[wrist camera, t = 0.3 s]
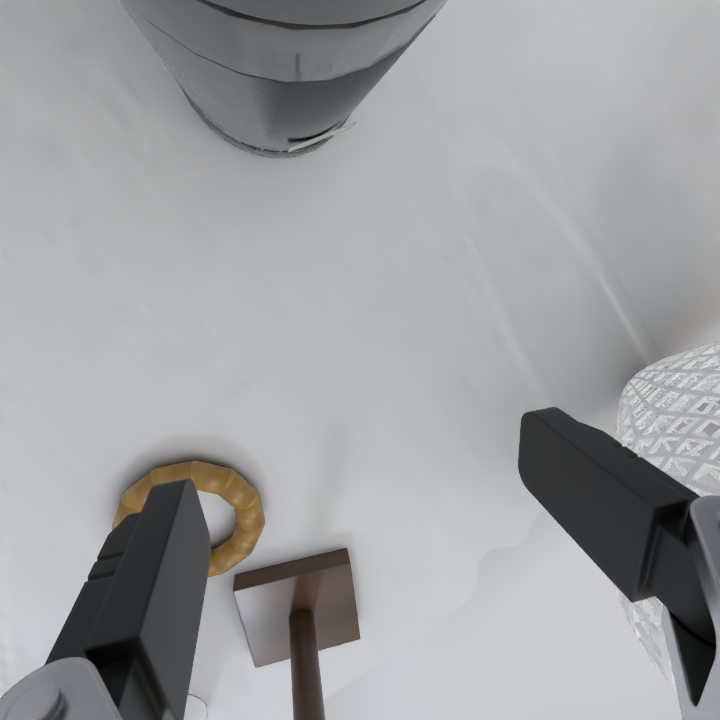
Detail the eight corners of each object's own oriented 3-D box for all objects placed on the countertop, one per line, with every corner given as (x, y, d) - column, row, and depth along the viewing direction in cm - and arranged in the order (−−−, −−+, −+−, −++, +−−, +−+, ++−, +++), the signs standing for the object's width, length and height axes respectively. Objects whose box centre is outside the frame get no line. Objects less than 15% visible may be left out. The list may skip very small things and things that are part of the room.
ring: (100, 472, 26) (89, 490, 25) (249, 444, 28) (248, 459, 26) (142, 578, 30) (135, 600, 28) (273, 548, 31) (273, 567, 30)
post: (234, 574, 32) (212, 811, 19) (346, 548, 33) (393, 752, 21) (255, 650, 35) (248, 893, 22) (357, 623, 36) (402, 837, 24)
